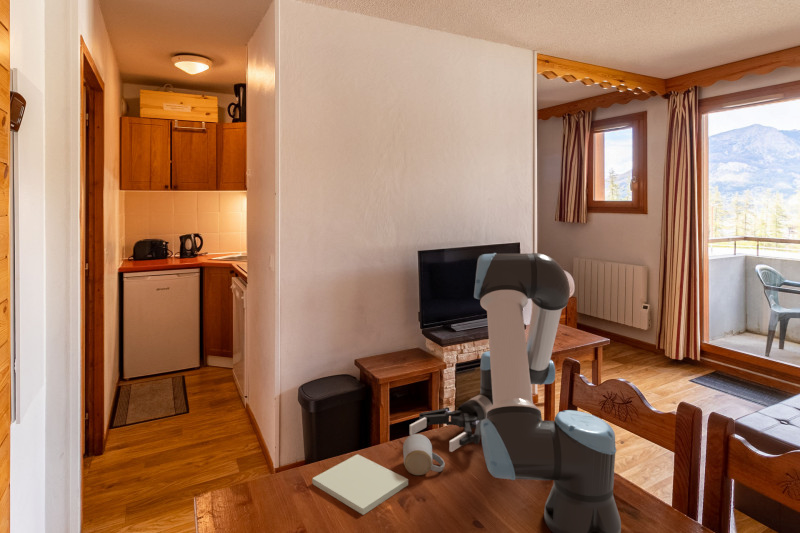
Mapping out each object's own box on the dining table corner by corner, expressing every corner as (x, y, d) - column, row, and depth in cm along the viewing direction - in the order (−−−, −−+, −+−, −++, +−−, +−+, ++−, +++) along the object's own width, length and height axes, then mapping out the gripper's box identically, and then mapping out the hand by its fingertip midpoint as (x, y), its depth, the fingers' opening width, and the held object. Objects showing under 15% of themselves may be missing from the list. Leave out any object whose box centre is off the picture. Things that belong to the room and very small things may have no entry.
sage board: (408, 485, 117) (408, 479, 116) (363, 515, 106) (362, 508, 105) (357, 459, 129) (357, 454, 128) (312, 483, 118) (312, 478, 117)
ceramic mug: (403, 478, 120) (403, 448, 119) (403, 460, 128) (403, 433, 127) (446, 477, 120) (446, 448, 119) (442, 460, 128) (443, 433, 127)
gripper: (512, 437, 135) (468, 468, 120) (441, 412, 152) (395, 436, 136) (512, 411, 134) (469, 439, 119) (441, 389, 151) (395, 411, 135)
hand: (429, 438), depth 128 cm, fingers open, 13 cm apart
